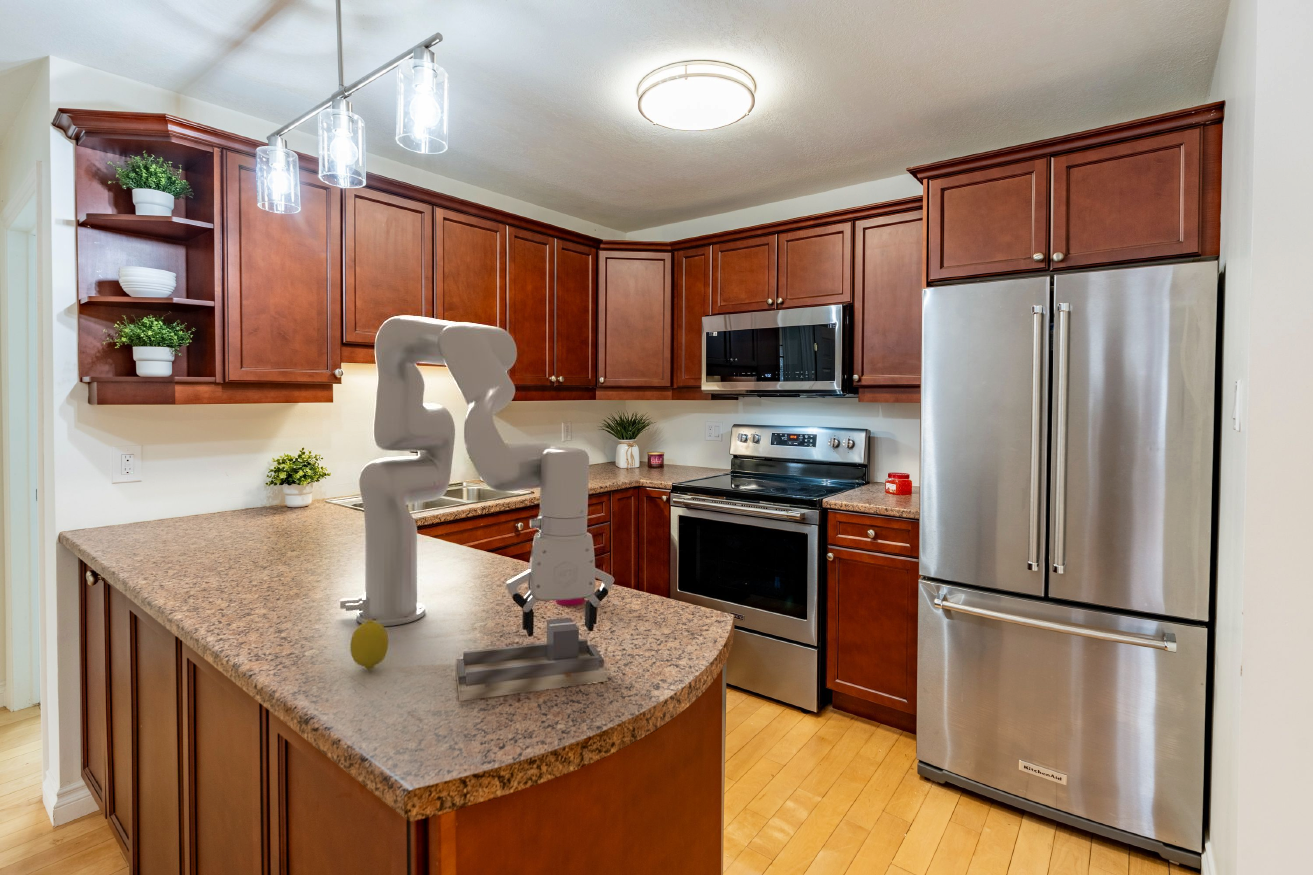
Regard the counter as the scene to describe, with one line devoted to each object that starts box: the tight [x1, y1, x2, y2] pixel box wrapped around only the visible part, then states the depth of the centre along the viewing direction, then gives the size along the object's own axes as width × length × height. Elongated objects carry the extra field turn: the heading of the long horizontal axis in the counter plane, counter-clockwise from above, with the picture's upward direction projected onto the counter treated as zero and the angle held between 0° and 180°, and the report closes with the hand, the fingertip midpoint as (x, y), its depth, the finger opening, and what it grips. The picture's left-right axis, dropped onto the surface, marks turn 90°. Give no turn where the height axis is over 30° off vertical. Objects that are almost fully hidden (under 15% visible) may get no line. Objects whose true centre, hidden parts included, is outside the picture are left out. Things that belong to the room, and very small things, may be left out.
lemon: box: [349, 620, 389, 671], centre depth 102 cm, size 6×6×8 cm
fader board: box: [455, 638, 608, 702], centre depth 101 cm, size 22×11×4 cm, turn 110°
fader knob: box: [545, 617, 580, 661], centre depth 103 cm, size 4×6×6 cm
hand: (559, 630), depth 103 cm, fingers open, 9 cm apart
